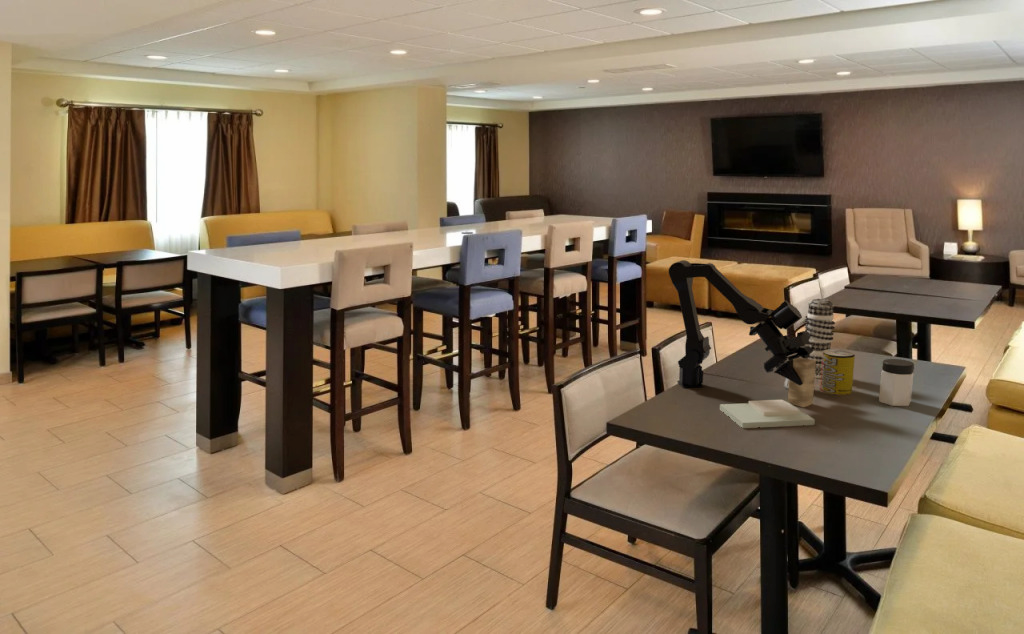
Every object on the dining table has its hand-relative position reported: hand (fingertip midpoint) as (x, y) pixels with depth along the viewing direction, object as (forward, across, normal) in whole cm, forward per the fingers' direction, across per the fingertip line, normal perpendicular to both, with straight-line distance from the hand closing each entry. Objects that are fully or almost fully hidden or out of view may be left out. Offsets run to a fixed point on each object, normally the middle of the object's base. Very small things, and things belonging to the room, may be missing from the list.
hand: (806, 382), depth 222 cm
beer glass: (-3, +14, +13) cm, 19 cm away
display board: (+3, -18, +6) cm, 19 cm away
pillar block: (+4, 0, +6) cm, 7 cm away
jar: (+16, +22, -7) cm, 28 cm away
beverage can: (+4, +20, +5) cm, 21 cm away
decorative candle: (-5, +33, +15) cm, 36 cm away
